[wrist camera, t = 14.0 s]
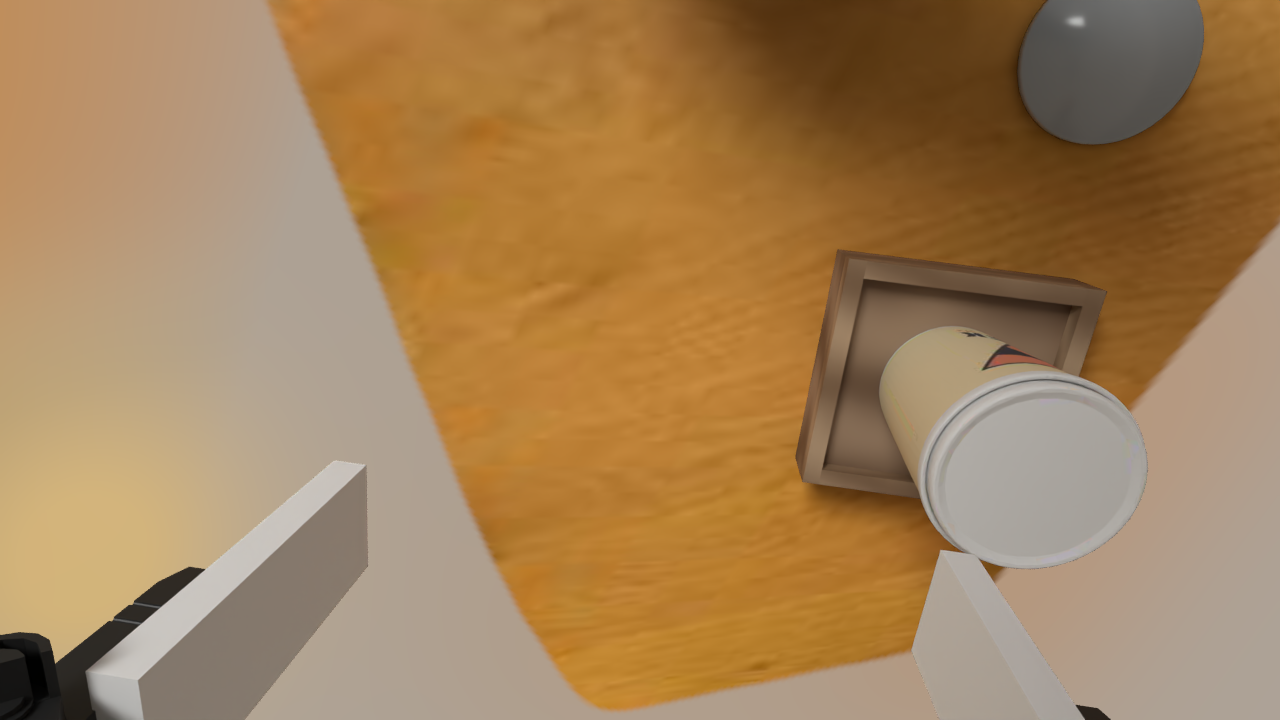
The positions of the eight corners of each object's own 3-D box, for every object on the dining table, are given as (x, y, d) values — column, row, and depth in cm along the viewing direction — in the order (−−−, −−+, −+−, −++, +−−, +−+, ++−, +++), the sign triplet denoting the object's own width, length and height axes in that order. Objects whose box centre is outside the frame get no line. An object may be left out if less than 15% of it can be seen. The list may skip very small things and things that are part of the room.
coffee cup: (1062, 377, 40) (1206, 470, 28) (944, 486, 42) (1032, 612, 31) (944, 278, 38) (1045, 334, 27) (831, 397, 41) (879, 493, 30)
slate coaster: (1045, -46, 35) (1050, -49, 35) (1222, -28, 35) (1231, -31, 34) (997, 134, 38) (1002, 134, 38) (1161, 153, 38) (1168, 153, 37)
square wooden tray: (837, 249, 41) (849, 258, 38) (1074, 279, 40) (1107, 291, 37) (795, 457, 45) (802, 481, 42) (1007, 487, 45) (1032, 514, 41)
